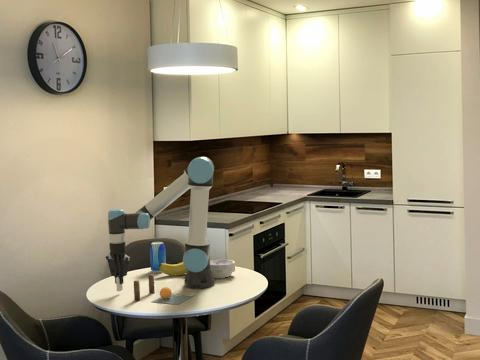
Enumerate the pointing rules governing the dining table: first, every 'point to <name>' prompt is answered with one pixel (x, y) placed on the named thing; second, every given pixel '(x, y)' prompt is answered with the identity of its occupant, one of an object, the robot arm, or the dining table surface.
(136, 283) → the post
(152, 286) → the post
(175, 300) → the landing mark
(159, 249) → the beer can
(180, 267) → the banana
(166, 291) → the ball
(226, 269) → the paper bowls
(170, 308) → the dining table surface
